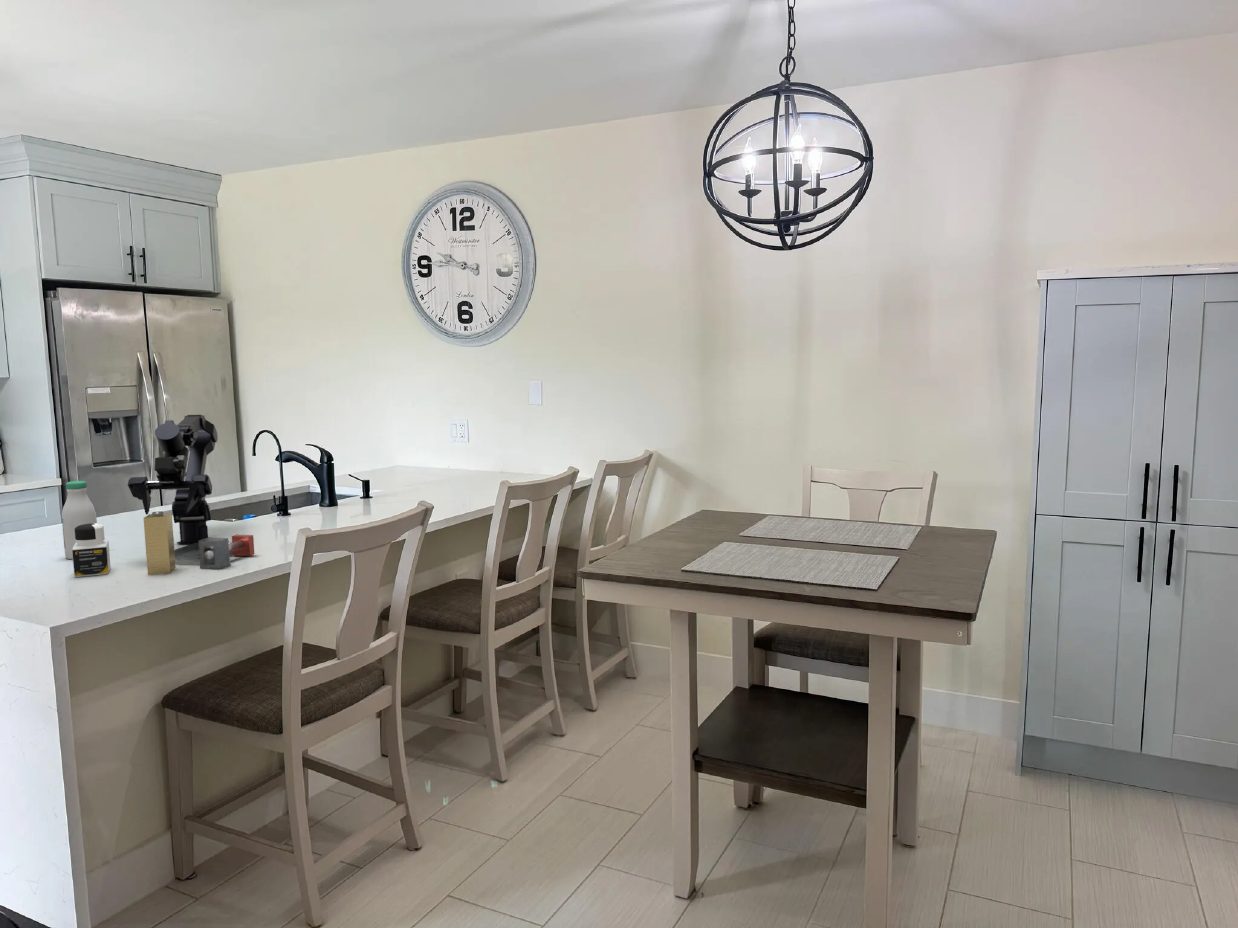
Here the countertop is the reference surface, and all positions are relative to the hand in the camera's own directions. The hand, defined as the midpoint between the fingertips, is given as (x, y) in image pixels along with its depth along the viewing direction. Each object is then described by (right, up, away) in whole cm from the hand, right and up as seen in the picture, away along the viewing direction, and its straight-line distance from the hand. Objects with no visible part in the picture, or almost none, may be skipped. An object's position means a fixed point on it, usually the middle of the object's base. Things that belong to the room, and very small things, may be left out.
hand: (166, 512), depth 215 cm
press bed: (+5, -12, +7) cm, 15 cm away
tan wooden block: (+2, -14, -6) cm, 15 cm away
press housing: (+13, -14, -1) cm, 19 cm away
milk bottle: (-28, -12, +10) cm, 32 cm away
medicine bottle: (-15, -15, -6) cm, 22 cm away
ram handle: (+14, -13, +4) cm, 19 cm away
